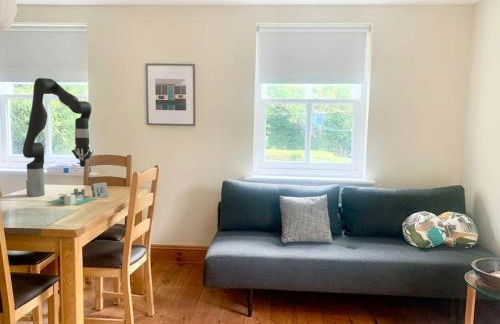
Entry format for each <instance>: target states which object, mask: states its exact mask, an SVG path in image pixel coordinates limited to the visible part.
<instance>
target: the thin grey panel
mask: <svg viewBox="0 0 500 324" xmlns="http://www.w3.org/2000/svg"><path fill="white" fill-rule="evenodd" d="M70 195H75V196H76V195H81V191H78V192H75V193H74V192H72V193H70ZM58 199H64V196H63V195H60V196H59V197H58Z"/></svg>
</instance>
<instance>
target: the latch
mask: <svg viewBox="0 0 500 324" xmlns="http://www.w3.org/2000/svg"><path fill="white" fill-rule="evenodd" d="M70 194H71V193H69V192H61V193H58V196H64V199H65V206H74V205H73V204H76V202H75V195H70Z"/></svg>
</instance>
